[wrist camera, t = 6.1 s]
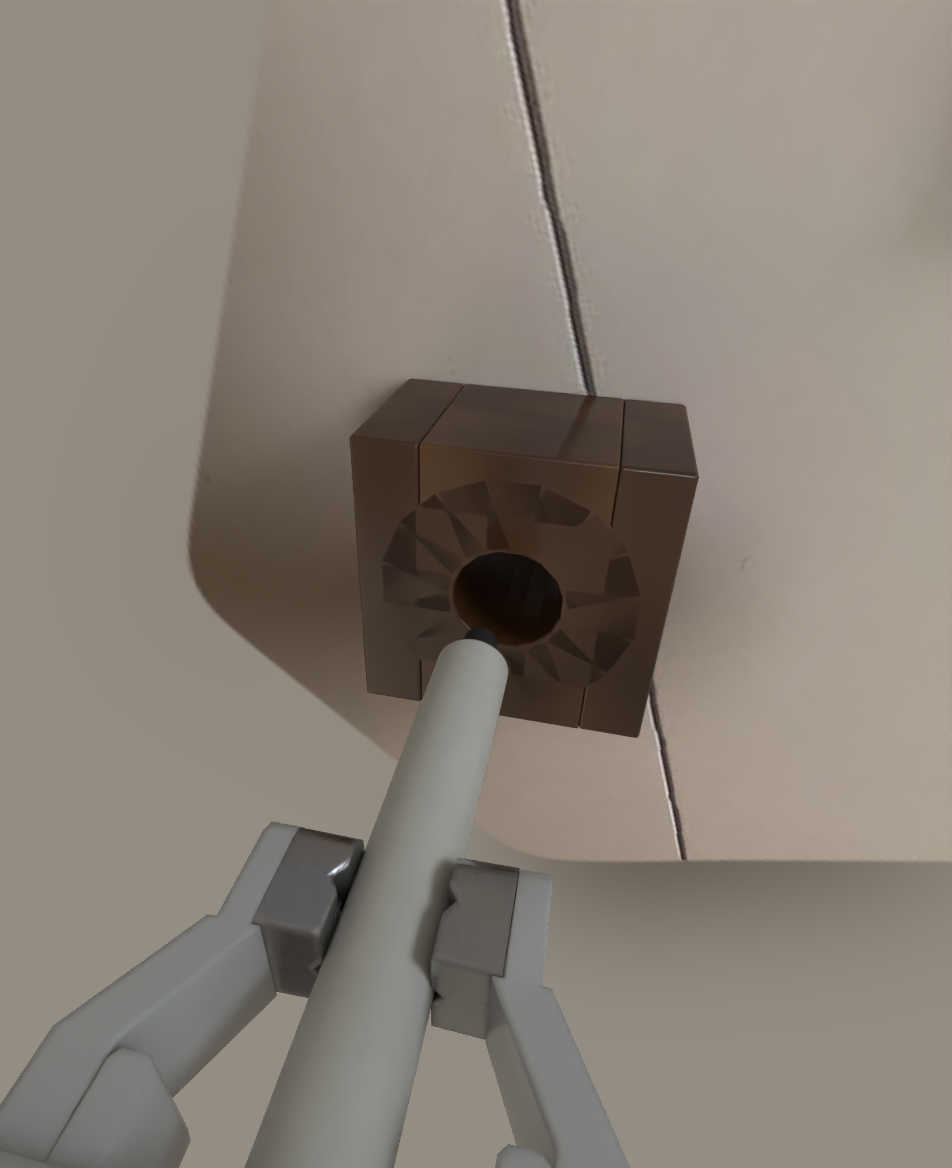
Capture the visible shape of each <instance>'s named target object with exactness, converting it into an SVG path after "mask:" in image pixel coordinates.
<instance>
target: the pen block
mask: <svg viewBox="0 0 952 1168" xmlns="http://www.w3.org/2000/svg"><path fill="white" fill-rule="evenodd" d="M350 450H351V464H352V478H353V493H354V507H355V522H356V536H357V551H358V565H359V580H360V594H361V608H362V623H363V637H364V652H365V666H366V681H367V691H368V692H369V693H374V694H380V695H386V696H392V697H398V698H404V699H410V700H416V701H421V699H423V696H424V694H425V691H426V688H427V686H428V683H429V680H430V678H431V675H432V673H433V670H434V667H435V665H436V662H437V659H438V657H439V655H440V653H441V651H442V650H443V649H444V648H445V647H446V646H447V645H449V644H450V643H452V642H455V641H458V640H463V639H464V637H465V634H466V633H467V632H468V631H470V630H471V629H473V628H485V629H487V630H489V631H491V632H492V633H493V634H494V635H495V637H496V639H497V649H496V650H498V651H499V652H500V654H501V655H502V656H503V658H504V659H505V661H506V664H507V667H508V678H507V682H506V687H505V691H504V695H503V700H502V704H501V708H500V712H499V715H501V716H507V717H513V718H519V719H525V720H531V721H536V722H542V723H548V724H554V725H560V726H566V727H572V728H578V726H579V727H580V728H581V729H587V730H593V731H599V732H605V733H611V734H616V735H622V736H628V737H634V738H637V737H638V736H639V734H640V729H641V725H642V721H643V716H644V712H645V708H646V703H647V699H648V695H649V690H650V686H651V682H652V677H653V673H654V669H655V664H656V660H657V656H658V651H659V647H660V643H661V638H662V634H663V630H664V625H665V621H666V617H667V613H668V608H669V604H670V600H671V595H672V591H673V587H674V582H675V578H676V574H677V569H678V565H679V561H680V556H681V552H682V548H683V543H684V539H685V535H686V530H687V526H688V522H689V517H690V513H691V509H692V504H693V500H694V496H695V491H696V487H697V483H698V479H699V475H698V470H697V465H696V459H695V454H694V448H693V443H692V438H691V432H690V427H689V421H688V416H687V411H686V406H684V405H676V404H665V403H655V402H644V401H634V400H626V401H625V402H624V400H623V399H615V398H604V397H594V396H583V395H573V394H562V393H552V392H541V391H531V390H520V389H510V388H500V387H489V386H479V385H468V384H466V385H465V386H463V385H462V384H456V383H446V382H435V381H425V380H414V379H410V380H408V381H407V382H406V383H405V384H404V385H403V386H402V387H401V388H400V389H399V390H398V391H397V392H396V393H395V394H394V395H393V396H391V397H390V398H389V399H388V400H387V401H386V402H385V403H384V404H383V405H382V406H381V407H380V408H379V409H378V410H377V411H376V412H375V413H374V414H373V415H372V416H371V417H370V418H369V419H368V420H367V421H366V422H365V423H364V424H362V425H361V426H360V427H359V428H358V429H357V430H356V431H355V432H354V433H353V434H352V435H351V436H350Z"/></svg>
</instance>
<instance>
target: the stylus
mask: <svg viewBox="0 0 952 1168" xmlns="http://www.w3.org/2000/svg"><path fill="white" fill-rule="evenodd" d="M496 649H497V639H496V637H495V635H494V634H493V633H492V632H491V631H489V630H487V629H485V628H473V629H471V630H470V631H468V632H467V633H466V634H465V637H464V639H463V640H458V641H455V642H452V643H450V644H449V645H447V646H446V647H445V648H444V649H443V650H442V651H441V653H440V655H439V657H438V659H437V662H436V665H435V667H434V670H433V673H432V675H431V678H430V680H429V683H428V686H427V688H426V691H425V694H424V696H423V699H422V702H421V704H420V707H419V709H418V712H417V715H416V717H415V720H414V723H413V725H412V728H411V731H410V733H409V736H408V738H407V741H406V744H405V746H404V749H403V752H402V754H401V757H400V760H399V762H398V765H397V767H396V770H395V773H394V775H393V778H392V781H391V783H390V786H389V788H388V791H387V794H386V797H385V799H384V802H383V805H382V807H381V810H380V812H379V815H378V817H377V820H376V823H375V825H374V828H373V831H372V833H371V836H370V839H369V841H368V844H367V846H366V849H365V852H364V855H363V858H362V860H361V863H360V865H359V868H358V871H357V873H356V876H355V879H354V881H353V884H352V887H351V889H350V891H349V894H348V897H347V899H346V902H345V904H344V907H343V910H342V912H341V915H340V918H339V921H338V924H337V926H336V929H335V931H334V934H333V937H332V939H331V942H330V945H329V947H328V950H327V952H326V955H325V958H324V960H323V963H322V965H321V968H320V970H319V973H318V976H317V978H316V981H315V983H314V986H313V989H312V991H311V994H310V997H309V999H308V1002H307V1005H306V1007H305V1010H304V1013H303V1015H302V1018H301V1020H300V1023H299V1026H298V1028H297V1031H296V1034H295V1036H294V1039H293V1042H292V1044H291V1047H290V1049H289V1052H288V1055H287V1057H286V1060H285V1062H284V1065H283V1068H282V1070H281V1073H280V1076H279V1078H278V1081H277V1084H276V1086H275V1089H274V1092H273V1094H272V1097H271V1099H270V1102H269V1105H268V1107H267V1110H266V1113H265V1116H264V1118H263V1121H262V1123H261V1126H260V1128H259V1131H258V1134H257V1136H256V1139H255V1141H254V1144H253V1147H252V1150H251V1152H250V1155H249V1157H248V1160H247V1163H246V1165H245V1168H394V1164H395V1159H396V1155H397V1151H398V1146H399V1142H400V1138H401V1134H402V1129H403V1125H404V1121H405V1116H406V1112H407V1107H408V1104H409V1099H410V1095H411V1091H412V1086H413V1082H414V1077H415V1074H416V1069H417V1064H418V1061H419V1056H420V1052H421V1048H422V1043H423V1039H424V1034H425V1031H426V1026H427V1022H428V1018H429V1013H430V1009H431V1005H432V1000H433V996H434V992H435V990H434V989H433V988H432V987H431V959H432V955H433V951H434V946H435V942H436V938H437V934H438V930H439V926H440V921H441V917H442V913H443V912H444V911H446V910H447V909H448V908H449V891H450V881H451V877H452V873H453V869H454V865H455V863H456V860H457V858H463V859H466V854H467V850H468V846H469V841H470V836H471V833H472V829H473V824H474V820H475V816H476V811H477V807H478V803H479V798H480V794H481V790H482V786H483V781H484V777H485V773H486V768H487V764H488V760H489V755H490V751H491V747H492V743H493V738H494V734H495V730H496V725H497V721H498V717H499V712H500V708H501V704H502V700H503V695H504V691H505V687H506V682H507V678H508V667H507V664H506V661H505V659H504V658H503V656H502V655H501V654H500V652H499V651H498V650H496Z"/></svg>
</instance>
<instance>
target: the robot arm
mask: <svg viewBox="0 0 952 1168" xmlns="http://www.w3.org/2000/svg"><path fill="white" fill-rule="evenodd" d="M364 852H365V851H364V844H363V840H361V839H356V838H351V837H346V836H341V835H336V834H331V833H326V832H321V831H315V830H311V829H306V828H303V827H298V826H293V825H288V824H282V823H277V822H271V823H270V824H269V825H268V826H267V827H266V828H265V829H264V830H263V832H262V834H261V836H260V837H259V839H258V841H257V843H256V845H255V847H254V848H253V850H252V852H251V854H250V856H249V858H248V859H247V861H246V863H245V865H244V867H243V869H242V871H241V872H240V874H239V876H238V878H237V880H236V882H235V883H234V886H233V887H232V889H231V891H230V893H229V894H228V896H227V898H226V900H225V902H224V904H223V906H222V907H221V910H220V911H219V913H218V914H217V916H214V915H206V916H205V917H203V918H202V919H201V920H200V921H198V922H197V923H195V924H194V925H192V926H191V927H190V928H188V929H187V930H185V931H184V932H183V933H181V934H180V935H178V936H177V937H176V938H174V939H173V940H172V941H170V942H169V943H168V944H166V945H165V946H163V947H162V948H160V949H159V950H158V951H156V952H155V953H154V954H152V955H151V956H149V957H148V958H147V959H145V960H144V961H142V962H141V963H140V964H139V965H137V966H135V967H134V968H133V969H131V970H130V971H128V972H127V973H126V974H124V975H123V976H121V977H120V978H119V979H118V980H116V981H115V982H113V983H112V984H110V985H109V986H108V987H106V988H105V989H103V990H102V991H101V992H99V993H98V994H97V995H95V996H94V997H92V998H91V999H90V1000H88V1001H87V1002H85V1003H84V1004H83V1005H81V1006H80V1007H78V1008H77V1009H76V1010H74V1011H73V1012H71V1013H70V1014H69V1015H67V1016H66V1017H65V1018H63V1019H62V1020H60V1021H59V1022H58V1023H56V1024H55V1025H53V1027H52V1028H51V1030H50V1031H49V1033H48V1034H47V1036H46V1037H45V1039H44V1040H43V1042H42V1043H41V1045H40V1046H39V1048H38V1049H37V1051H36V1052H35V1054H34V1055H33V1057H32V1058H31V1060H30V1061H29V1063H28V1065H27V1066H26V1067H25V1069H24V1070H23V1072H22V1073H21V1075H20V1076H19V1078H18V1079H17V1081H16V1082H15V1084H14V1085H13V1087H12V1088H11V1090H10V1091H9V1093H8V1094H7V1096H6V1097H5V1099H4V1100H3V1102H2V1103H1V1105H0V1168H179V1166H180V1163H181V1161H182V1159H183V1157H184V1154H185V1152H186V1150H187V1147H188V1145H189V1142H190V1136H189V1132H188V1128H187V1126H186V1124H185V1122H184V1120H183V1118H182V1116H181V1114H180V1112H179V1110H178V1108H177V1106H176V1104H175V1103H174V1100H173V1097H174V1096H175V1095H176V1094H177V1093H178V1092H179V1091H180V1090H181V1089H182V1088H183V1087H184V1086H185V1085H186V1084H187V1083H188V1082H189V1081H190V1080H191V1079H192V1078H193V1077H194V1076H195V1075H197V1073H198V1072H200V1070H202V1069H203V1068H204V1067H205V1066H206V1065H207V1064H208V1063H209V1062H210V1061H211V1060H212V1059H213V1058H214V1057H215V1056H216V1055H217V1054H218V1053H219V1052H220V1051H221V1050H222V1049H223V1048H224V1047H225V1046H226V1045H227V1044H228V1043H229V1042H230V1041H231V1040H232V1039H233V1038H234V1037H235V1036H236V1035H237V1034H238V1033H239V1032H240V1031H241V1030H242V1029H243V1028H244V1027H245V1026H246V1025H247V1024H248V1023H249V1022H250V1021H251V1020H252V1019H253V1018H254V1017H255V1016H256V1015H257V1014H258V1013H260V1012H261V1011H262V1010H263V1009H264V1008H265V1006H267V1005H268V1004H269V1003H270V1002H271V1001H272V1000H273V999H274V998H275V997H276V995H277V994H276V992H281V993H286V994H291V995H296V996H301V997H306V998H309V997H310V994H311V991H312V989H313V986H314V983H315V981H316V978H317V976H318V973H319V970H320V968H321V965H322V963H323V960H324V958H325V955H326V952H327V950H328V947H329V945H330V942H331V939H332V937H333V934H334V931H335V929H336V926H337V924H338V921H339V918H340V915H341V912H342V910H343V907H344V904H345V902H346V899H347V897H348V894H349V891H350V889H351V887H352V884H353V881H354V879H355V876H356V873H357V871H358V868H359V865H360V863H361V860H362V858H363V855H364ZM518 879H519V880H518ZM552 886H553V879H552V875H549V874H544V873H538V872H532V871H526V870H520V873H519V868H515V867H510V866H504V865H498V864H492V863H486V862H481V861H475V860H469V859H463V858H457V860H456V863H455V865H454V869H453V873H452V877H451V881H450V891H449V908H448V909H447V910H446V911H444V912H443V913H442V917H441V921H440V926H439V930H438V934H437V938H436V942H435V946H434V951H433V955H432V959H431V987H432V988H433V989H434V990H435V992H434V996H433V1000H432V1005H431V1025H432V1026H435V1027H439V1028H443V1029H446V1030H451V1031H454V1032H458V1033H462V1034H466V1035H470V1036H473V1037H477V1038H481V1039H485V1040H486V1045H487V1049H488V1052H489V1055H490V1059H491V1062H492V1065H493V1068H494V1072H495V1075H496V1079H497V1082H498V1085H499V1088H500V1092H501V1095H502V1098H503V1102H504V1105H505V1108H506V1111H507V1115H508V1118H509V1122H510V1125H511V1128H512V1132H513V1135H514V1138H515V1141H516V1145H517V1146H514V1145H509V1144H508V1145H507V1146H506V1147H505V1148H504V1149H503V1150H501V1152H499V1153H498V1154H497V1160H496V1167H495V1168H630V1166H629V1164H628V1162H627V1160H626V1157H625V1155H624V1153H623V1150H622V1148H621V1146H620V1144H619V1141H618V1139H617V1137H616V1135H615V1132H614V1130H613V1128H612V1125H611V1123H610V1121H609V1118H608V1116H607V1114H606V1111H605V1109H604V1107H603V1105H602V1102H601V1100H600V1098H599V1095H598V1093H597V1091H596V1089H595V1086H594V1084H593V1082H592V1079H591V1077H590V1075H589V1073H588V1070H587V1068H586V1066H585V1063H584V1061H583V1059H582V1057H581V1054H580V1052H579V1050H578V1047H577V1045H576V1043H575V1041H574V1038H573V1036H572V1034H571V1031H570V1029H569V1027H568V1024H567V1022H566V1020H565V1018H564V1016H563V1013H562V1011H561V1008H560V1006H559V1004H558V1002H557V999H556V997H555V995H554V993H553V990H552V989H551V988H547V987H543V986H542V982H543V972H544V963H545V953H546V944H547V934H548V925H549V915H550V905H551V895H552Z"/></svg>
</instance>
